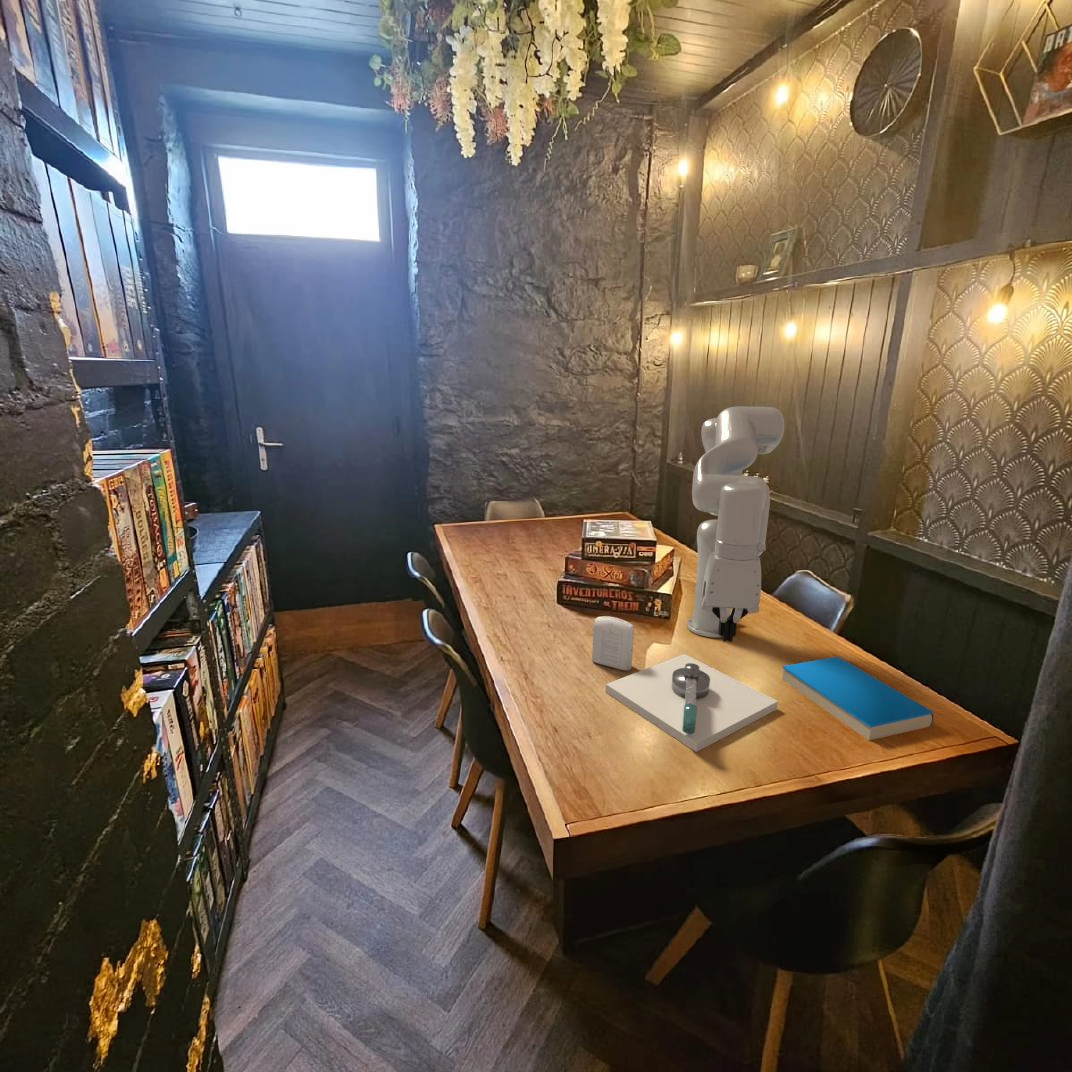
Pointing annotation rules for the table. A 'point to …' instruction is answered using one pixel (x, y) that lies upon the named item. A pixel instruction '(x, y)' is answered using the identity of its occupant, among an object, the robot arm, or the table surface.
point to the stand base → (716, 712)
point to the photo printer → (613, 642)
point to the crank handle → (690, 692)
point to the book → (857, 698)
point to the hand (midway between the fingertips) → (726, 638)
